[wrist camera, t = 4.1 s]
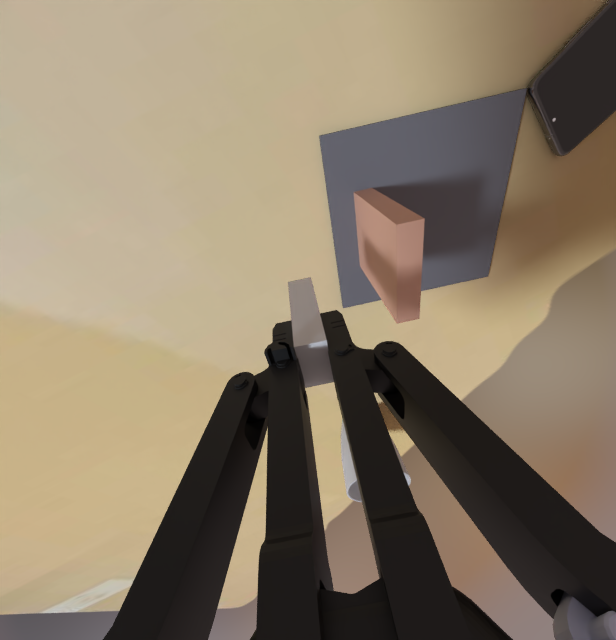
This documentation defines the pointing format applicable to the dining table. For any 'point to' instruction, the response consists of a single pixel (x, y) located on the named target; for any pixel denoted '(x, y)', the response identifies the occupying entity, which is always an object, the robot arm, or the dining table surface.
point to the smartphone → (578, 84)
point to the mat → (426, 185)
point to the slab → (391, 251)
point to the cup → (349, 470)
